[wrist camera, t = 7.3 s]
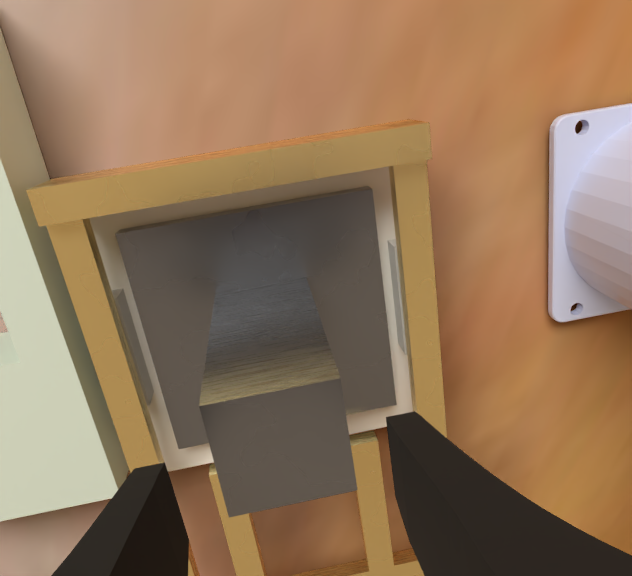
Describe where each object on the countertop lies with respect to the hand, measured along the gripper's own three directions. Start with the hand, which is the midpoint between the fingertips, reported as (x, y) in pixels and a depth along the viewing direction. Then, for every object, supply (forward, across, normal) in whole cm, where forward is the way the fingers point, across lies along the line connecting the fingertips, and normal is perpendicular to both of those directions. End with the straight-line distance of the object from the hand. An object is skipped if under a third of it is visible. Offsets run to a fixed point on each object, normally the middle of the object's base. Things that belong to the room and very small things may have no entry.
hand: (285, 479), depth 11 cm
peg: (+10, 0, 0) cm, 10 cm away
